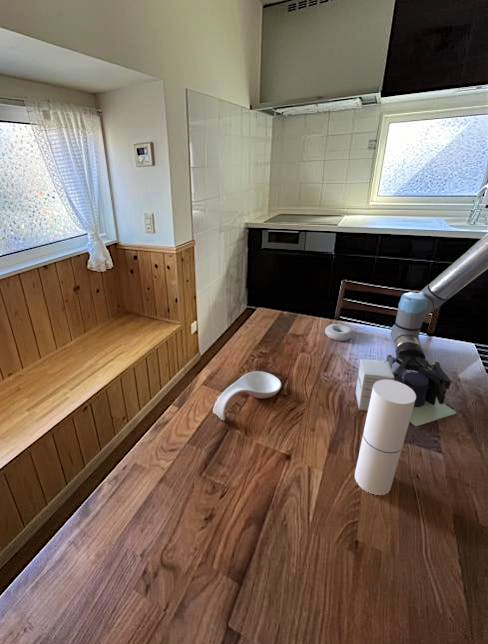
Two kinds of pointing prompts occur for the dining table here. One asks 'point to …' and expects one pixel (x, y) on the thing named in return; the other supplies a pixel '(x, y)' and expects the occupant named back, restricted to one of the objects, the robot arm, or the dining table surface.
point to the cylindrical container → (384, 435)
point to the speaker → (423, 386)
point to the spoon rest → (248, 389)
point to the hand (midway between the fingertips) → (421, 396)
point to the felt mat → (430, 413)
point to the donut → (338, 332)
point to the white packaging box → (370, 379)
